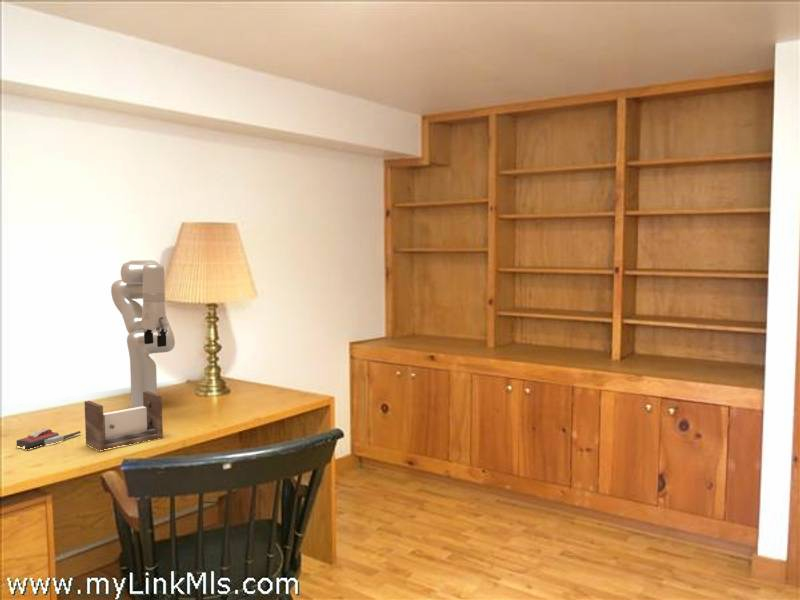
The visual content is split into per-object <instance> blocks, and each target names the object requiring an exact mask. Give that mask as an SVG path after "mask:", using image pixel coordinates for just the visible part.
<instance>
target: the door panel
mask: <svg viewBox="0 0 800 600" xmlns="http://www.w3.org/2000/svg"><path fill="white" fill-rule="evenodd" d="M103 422H104V439H107V438H112V437H117V436H122V435H127V434H131V433H136V432H141V431H146V430H147V408H146V407H144V406H141V407H135V408H130V409H127V408H126V409H125V408H124V409H120V410H114V411H113V410H112V411H108V412H103Z"/></svg>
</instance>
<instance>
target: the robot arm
mask: <svg viewBox="0 0 800 600" xmlns="http://www.w3.org/2000/svg"><path fill="white" fill-rule="evenodd" d="M120 278H121V279H118V280H116V281H114V282H113V283H112V284H111V288H110V289H111V290H110V291H111V292H110V293H111V297H112V302H113V303H114V305H115V307H116V309H117V310H118V312H119V313H120V314H121V315H122V319H123V321H124V325H125V328H126V331H127V332H128V335H127V336H126V345H127V348H128V349H127V350H128V356H129V367H130V370H129V371H130V396H131V397H130V399H129V400H130V402H131V403H130V405H129V406H127V408H126V409H130V408H135V407H141V406H143V392H145V391H149V392H152V393H155V394H158V382H157V379H158V377H157V363H156V362H155V360H154V359H153V358H152V357H151V356H150V355H151V354H161V353H168V352H171V351H172V350H173V349H175V348H174V347H175V345H176V341H175V336H174V333H173V330H172V327H171V325H170V321H169V319H168V317H167V313H166V306H165V302H166V293H165V292H166V290H165V287H166V286H165V285H166V283H165V267H164V266H163V265H162V264H160V263H159V262H157V260H153V259H152V260H151V259H150V260H149V259H148V260H129V261H126V262H125V263H123V264H122V265H121V269H120ZM139 299H142V305H141V304H140V303H139V302H137V300H139Z"/></svg>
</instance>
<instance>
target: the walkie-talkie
mask: <svg viewBox="0 0 800 600" xmlns="http://www.w3.org/2000/svg"><path fill="white" fill-rule="evenodd" d="M81 433H82V432H81V431H80V430H79V431H74V432H73V433H70V434H65V435H59V433H58V432H55V431H53V430H52V429H48V428H43V429H41V430H36V431H35V432H34V433H33V434H28V435H27V436H26V437H24V438H21V439H16V447H17V446H20V447H23V446H25V449H30V448H34V447H37V446H40V445H46V444H51V443H56V442H59V441H62V440H64V441H65V440H66V439H69V438H72V437H75V435H76V436H77V435H79V434H81ZM25 449H24V450H25Z"/></svg>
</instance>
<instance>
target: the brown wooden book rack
mask: <svg viewBox="0 0 800 600" xmlns="http://www.w3.org/2000/svg"><path fill="white" fill-rule="evenodd" d="M162 397H163V395H161V394H158V393H157V394H155V393H152V392H149V391H145V392H143V406H144V407H146V408H147V430H146V431H141V432H136V433H131V434H127V435H122V436H117V437H112V438H107V439H104V422H103V413H104V405H102V404H99V403H96V402H94V401H91V400H85V401H84V423H85V425H84V426H85V445H86V444H87V445H89V446H91V447H93V448H95V449H97V450H99V451H100V450H104V449H108V448H113V447H117V446H122V445H129V444H134V443H137V442H143V441H147V442H149V441H148V440H152V441H154V440H153V439H156V440H159V439H158V438H161V439H163V438H164V433H163V432H164V431H163V430H164V429H163V398H162ZM143 443H144V442H143ZM134 445H135V444H134ZM129 446H130V445H129Z"/></svg>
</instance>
